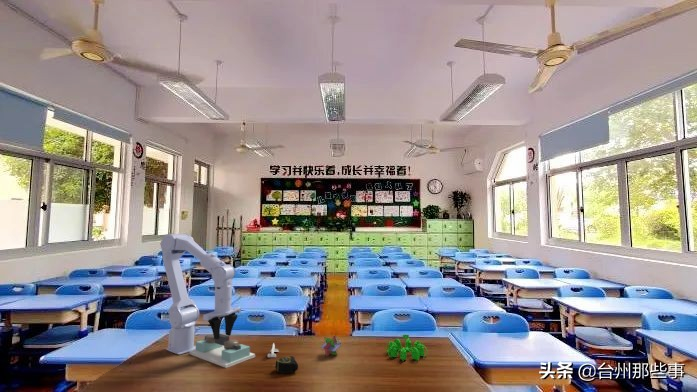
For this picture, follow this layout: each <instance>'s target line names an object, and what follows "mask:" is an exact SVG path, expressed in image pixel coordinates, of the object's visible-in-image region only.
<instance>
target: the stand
mask: <svg viewBox="0 0 697 392" xmlns="http://www.w3.org/2000/svg"><path fill="white" fill-rule="evenodd" d="M239 345H241V349H240V350H236V349H224V346H223V345H220V344H216V343H206V340H205V338H204V339H200V340H197V341H195V346H196V350H192V351H190V352H189V355H191V356H193V357H196V358H199V359H201V360H204V361H207V362H209V363H212V364H215V365H217V366H220V367H222V368H225V369H227V368H230V367H233V366H235V365H238V364H240V363H243V362H245V361H248V360H251V359H253V358H256V353H253V352H251V346H249V345H246V344H239Z"/></svg>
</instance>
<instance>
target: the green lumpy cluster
mask: <svg viewBox="0 0 697 392" xmlns="http://www.w3.org/2000/svg"><path fill="white" fill-rule="evenodd" d="M402 338H404V339H405V340H404V341H405V342H404V345H405V347H403V346H402V343H401V340H400V339H399V338H395V339H394V341H388V342H386V345H385V351H386V352H387V354H388V356H389V357H390V358H391V359H393V358H397V357H398V355H400V360H401V362H404V361H405V360H407V359H408V358H407V352H409V353H410V355H411V358H412V360H415V361H416V362H417V361H419V360H420V357H423V358H424V357H426V356H427V354H428V349H427V347H426V346H425V345H424V344H423V342H422V341H420V340H416V341H415V342H414V343H413V345H412V342H411V340H410V335H409V334H403V335H402ZM387 345H388V346H387ZM387 347H388V349H387ZM425 350H426V353H425Z"/></svg>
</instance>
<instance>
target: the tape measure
mask: <svg viewBox="0 0 697 392" xmlns="http://www.w3.org/2000/svg"><path fill="white" fill-rule="evenodd" d="M275 361H276V364H275V365H274V366H275V367H274V368H275V371H277V372H278V373H280V374H290V373H292V372H296V371H298V370H299V364H298V362H297V360H296V358H295V357H294V356H292V355H290V356H281V357H279V358H277V359H276V360H275Z"/></svg>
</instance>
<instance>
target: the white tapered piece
mask: <svg viewBox="0 0 697 392" xmlns="http://www.w3.org/2000/svg"><path fill="white" fill-rule="evenodd" d="M270 352H271V353H270ZM274 352H280V350H279V348H276V345H275V342H273V343H272V348H271V349H270V351H269V353H267V358H277V354H276V353H274Z"/></svg>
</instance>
